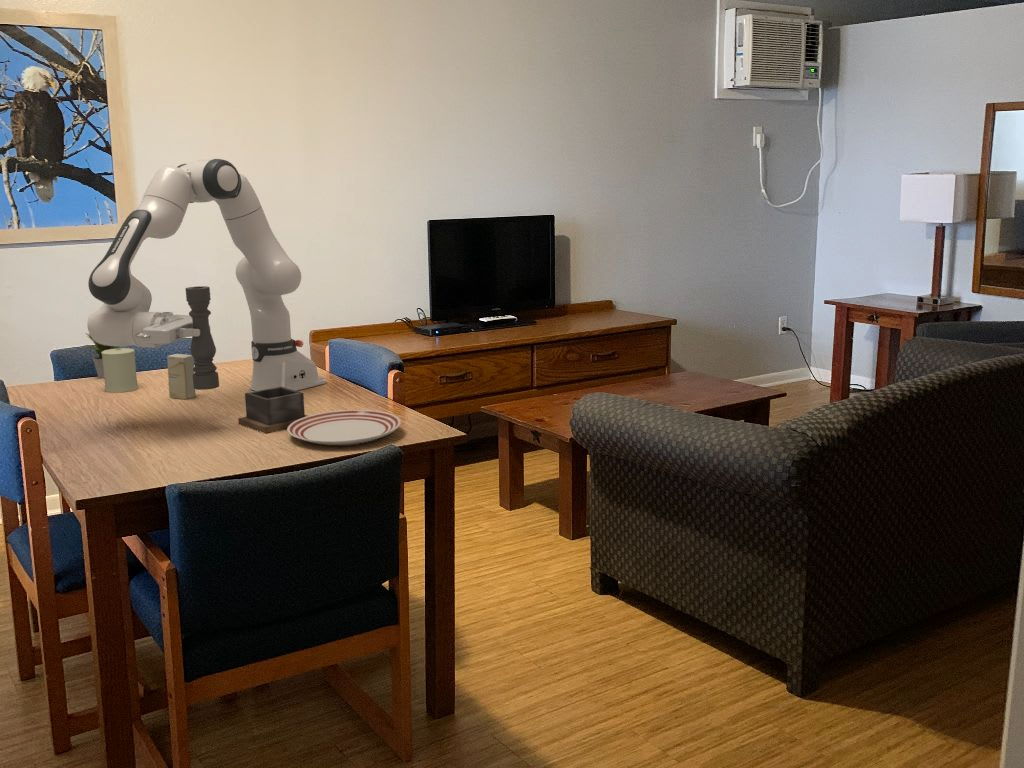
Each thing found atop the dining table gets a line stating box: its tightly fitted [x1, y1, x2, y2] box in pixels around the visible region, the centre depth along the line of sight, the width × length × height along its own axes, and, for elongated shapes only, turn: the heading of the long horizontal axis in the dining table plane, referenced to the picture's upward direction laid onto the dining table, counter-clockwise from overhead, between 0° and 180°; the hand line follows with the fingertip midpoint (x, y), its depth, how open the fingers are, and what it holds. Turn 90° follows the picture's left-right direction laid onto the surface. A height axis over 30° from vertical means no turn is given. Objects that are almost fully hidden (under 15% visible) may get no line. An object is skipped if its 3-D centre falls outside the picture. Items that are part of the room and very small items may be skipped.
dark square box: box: [237, 387, 308, 434], centre depth 257 cm, size 14×13×8 cm
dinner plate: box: [286, 409, 402, 446], centre depth 246 cm, size 28×27×3 cm
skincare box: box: [166, 353, 196, 400], centre depth 286 cm, size 6×4×12 cm
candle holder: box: [185, 285, 220, 391], centre depth 250 cm, size 6×6×25 cm
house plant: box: [83, 333, 121, 379], centre depth 313 cm, size 14×14×16 cm
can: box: [101, 347, 139, 393], centre depth 297 cm, size 9×9×12 cm
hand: (204, 330), depth 249 cm, fingers closed on candle holder, 4 cm apart
